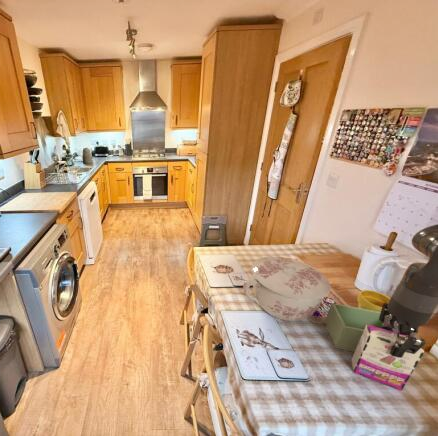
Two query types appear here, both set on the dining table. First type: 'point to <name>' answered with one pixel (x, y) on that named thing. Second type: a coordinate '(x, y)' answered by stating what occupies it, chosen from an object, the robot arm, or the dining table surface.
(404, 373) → the candy bar box
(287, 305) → the chamber pot
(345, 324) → the bin
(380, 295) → the flower pot
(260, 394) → the dining table surface
